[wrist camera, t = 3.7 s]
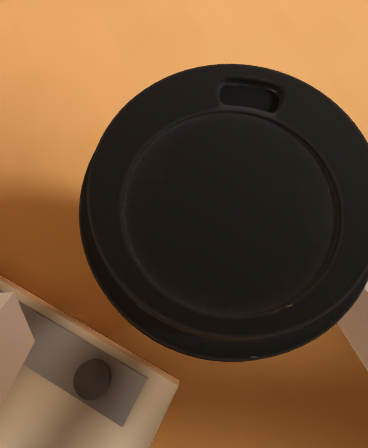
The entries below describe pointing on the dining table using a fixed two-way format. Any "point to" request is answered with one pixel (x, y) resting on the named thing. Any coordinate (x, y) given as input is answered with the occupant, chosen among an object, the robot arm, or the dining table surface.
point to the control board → (80, 387)
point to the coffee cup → (229, 212)
